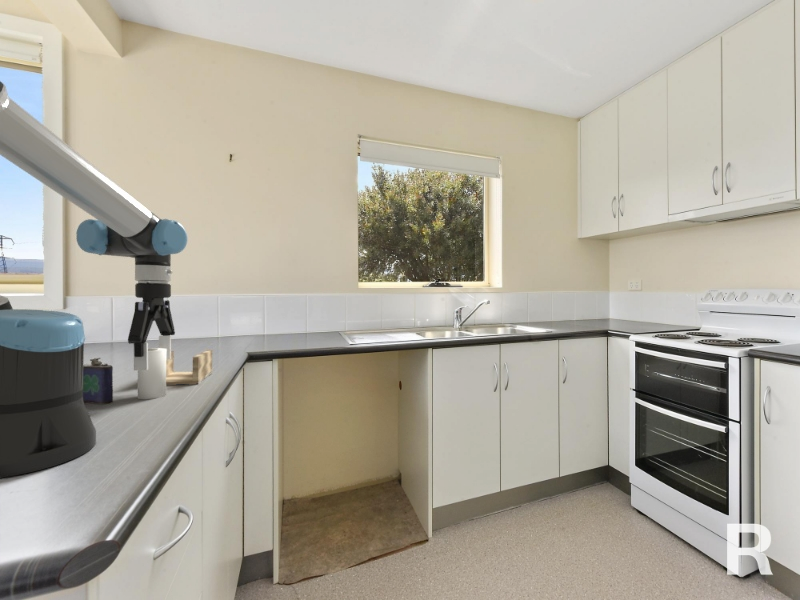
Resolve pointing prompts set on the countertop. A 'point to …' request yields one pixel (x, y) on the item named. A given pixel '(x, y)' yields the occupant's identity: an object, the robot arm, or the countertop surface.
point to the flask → (97, 382)
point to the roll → (153, 375)
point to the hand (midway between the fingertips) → (153, 364)
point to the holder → (200, 371)
